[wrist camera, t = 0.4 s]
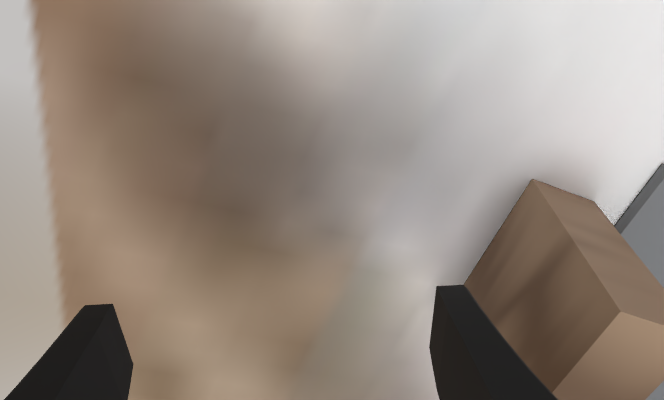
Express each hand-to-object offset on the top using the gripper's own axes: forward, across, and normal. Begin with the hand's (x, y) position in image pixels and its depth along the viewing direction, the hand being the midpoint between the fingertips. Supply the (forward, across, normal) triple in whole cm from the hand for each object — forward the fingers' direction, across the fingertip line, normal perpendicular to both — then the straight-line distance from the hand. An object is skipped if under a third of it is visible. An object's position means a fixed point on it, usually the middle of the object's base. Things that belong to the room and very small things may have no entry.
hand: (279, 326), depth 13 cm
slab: (+10, -10, +7) cm, 15 cm away
